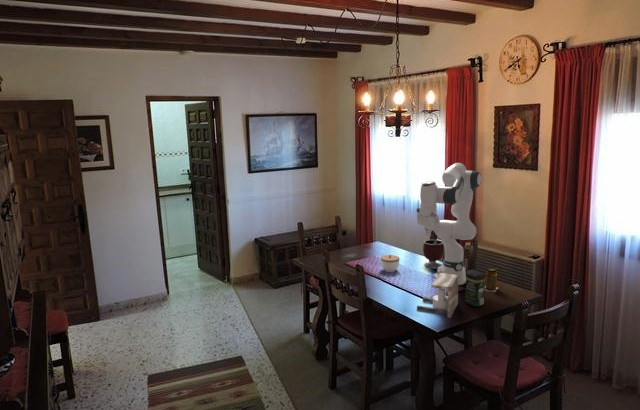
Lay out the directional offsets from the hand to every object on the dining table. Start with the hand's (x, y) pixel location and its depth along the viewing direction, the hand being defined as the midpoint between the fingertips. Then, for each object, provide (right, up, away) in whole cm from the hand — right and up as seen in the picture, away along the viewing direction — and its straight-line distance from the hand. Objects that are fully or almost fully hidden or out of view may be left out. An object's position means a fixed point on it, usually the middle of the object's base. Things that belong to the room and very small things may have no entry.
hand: (428, 235), depth 244 cm
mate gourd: (+19, -26, +63) cm, 71 cm away
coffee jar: (+25, -38, -2) cm, 45 cm away
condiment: (+42, -33, +18) cm, 56 cm away
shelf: (+3, -39, -6) cm, 39 cm away
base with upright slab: (+5, -39, -7) cm, 40 cm away
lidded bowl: (-12, -28, +57) cm, 65 cm away
